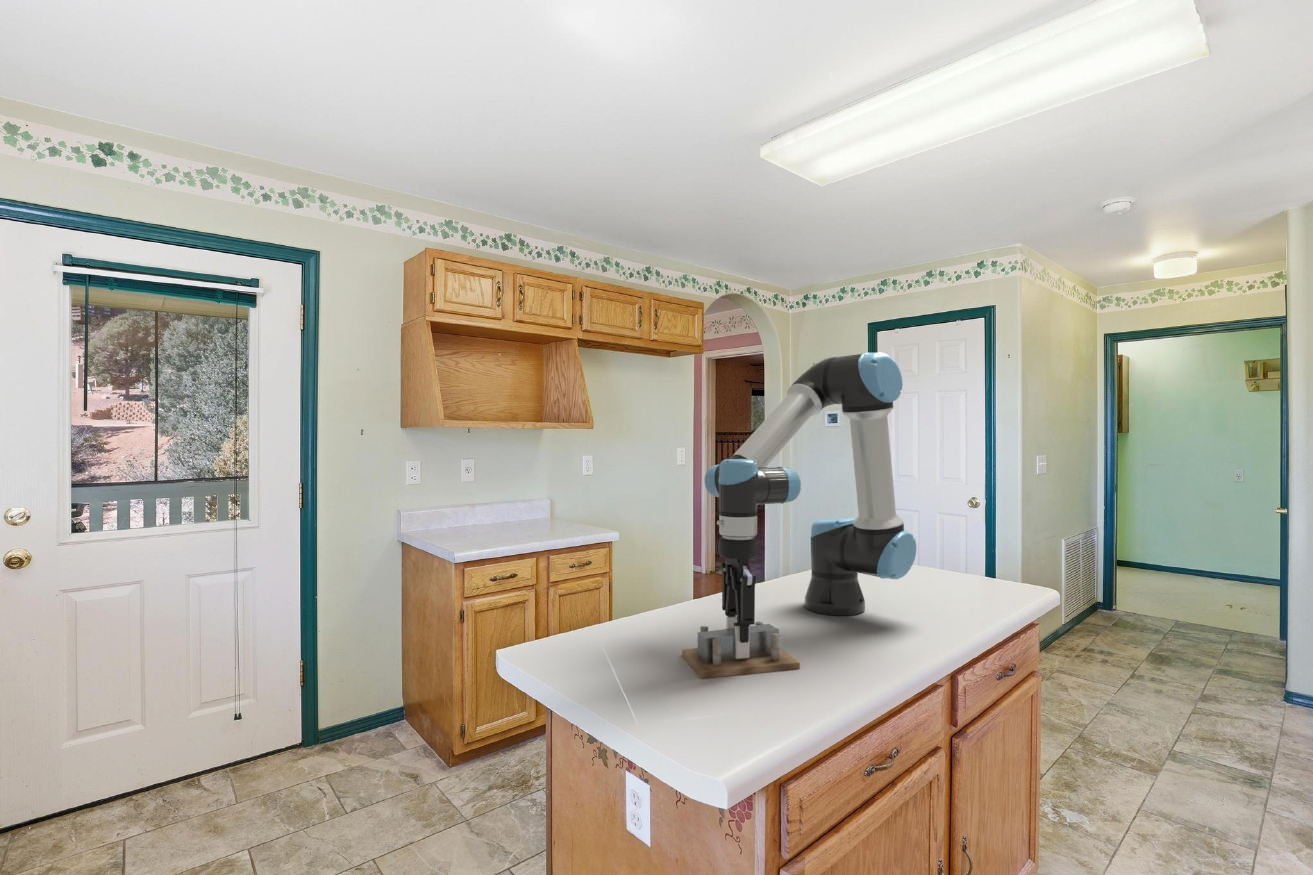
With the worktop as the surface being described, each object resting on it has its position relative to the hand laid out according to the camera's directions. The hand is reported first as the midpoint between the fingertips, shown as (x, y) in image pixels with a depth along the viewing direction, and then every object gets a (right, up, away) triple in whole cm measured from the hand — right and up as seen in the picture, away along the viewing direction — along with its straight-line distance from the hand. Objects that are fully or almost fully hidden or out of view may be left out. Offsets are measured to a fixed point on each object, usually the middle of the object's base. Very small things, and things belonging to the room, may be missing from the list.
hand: (737, 652), depth 128 cm
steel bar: (0, -1, 0) cm, 1 cm away
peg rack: (0, -2, 0) cm, 2 cm away
